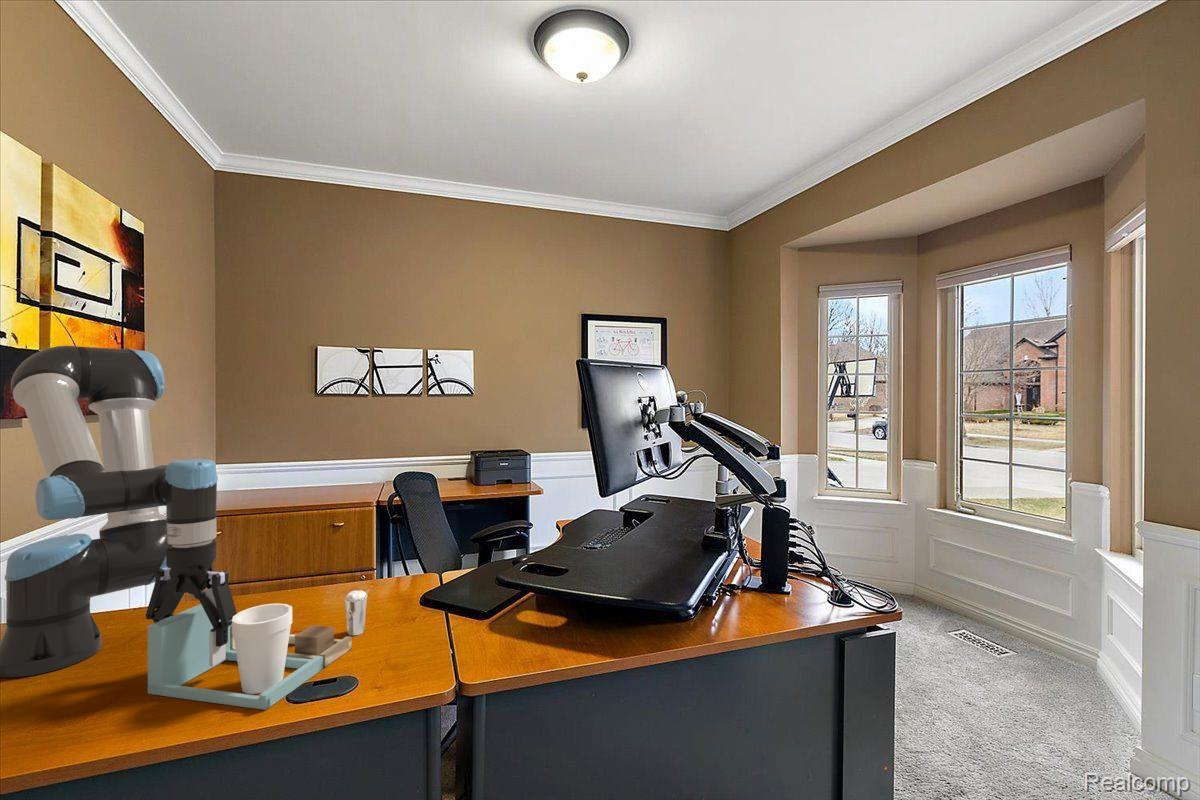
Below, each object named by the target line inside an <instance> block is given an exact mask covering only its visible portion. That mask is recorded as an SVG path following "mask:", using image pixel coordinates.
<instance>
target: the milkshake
mask: <svg viewBox="0 0 1200 800" xmlns="http://www.w3.org/2000/svg"><path fill="white" fill-rule="evenodd" d="M369 590H370V588H368V589H367V590H366V592H365V591H363V590H351V591H350V592H348V593H347V594H346V595H345V597H344V602H345V603H344V604H345V614H346V627H347V634H348V635H349V636H351V637H352V636H359V635H362V634H363V633H364V632H365V626H366V611H367V602H368V593H369Z"/></svg>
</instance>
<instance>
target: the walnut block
mask: <svg viewBox="0 0 1200 800" xmlns="http://www.w3.org/2000/svg"><path fill="white" fill-rule="evenodd" d="M294 635H295V644H294V653H298V654H307V655H316V656H320V654H321V653H323V652H324V651H326V650H327V649H328V648H330V647H331V646H333V645H334V639H335V627H334V626H326V625H325V626H323V625H317V624H316V625H315V624H312V625H310V626H308V627H307V628H305V629H304V630H302V631H301V632H299V633H297V634H294Z"/></svg>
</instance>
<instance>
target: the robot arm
mask: <svg viewBox="0 0 1200 800" xmlns="http://www.w3.org/2000/svg"><path fill="white" fill-rule="evenodd" d="M165 381H166V380H165V373H164V370H163V368H162V364H161V362H160V360H159V359H158V358H157V356H155V354H153V353H151V352H149V351H146V350H140V349H139V350H138V349H132V348H128V347H127V348H114V347H113V348H110V347H95V346H78V345H77V346H76V345H59V346H52V347H48V348H45V349H42V350H40V351H37V352H36V353H33V354H32V355H30V356H28V357H27V358H26V359H24V360H23V361H22V362H21V364H19V366H17V368H16V370H15V371H14V373H13V375H12V377H11V380H10V391H11V394H12V398H13V400H14V401H15V403H16V404H17V405H18V406H19V407H21V408H23V409H24V410H25V411H24V412H25V415H26V416H27V420H28V423H29V427H30V428H31V432H32V435H33V437H34V440H35V444H36V447H37V449H38V453H39V455H40V457H41V458H40V459H41V461H42V464H43V468H44V470H45V474H46V476H47V477H43V478H41V479H40V480H38V482H37V484H36V488H35V503H36V511H37V515H38V516H39V517H40V518H41V519H43V520H46V521H53V520H54V521H56V520H68V519H71V520H73V519H78V518H83V517H84V518H85V517H91V516H98V515H103V514H107V521H106V522H105V524H104V525H103V526H102V527H101V528H100V529H99V531H98V533H99V538H96V539H95V538H94V539H92V537H91V536H90V535H89V534H88V533H74V534H69V535H67V534H66V535H65V534H64V535H59V536H54V537H51V538H46V539H43V540H39V541H35V542H32V543H29V544H26V545H23V546H22V547H20V548H18V549H16V550H15V551H13V552H12V553H11V554H10V555H9V556H8V557H7V560H6V570H5V575H4V580H5V582H6V583H5V586H6V588H5V591H6V592H5V593H6V594H5V595H6V597H5V598H6V600H5V601H6V603H5V604H6V606H5V607H6V609H5V611H6V612H5V614H6V616H5V618H6V619H5V622H6V623H5V630H4V633H3V635H2V638H1V640H0V678H4V679H5V678H6V679H7V678H9V679H10V678H23V677H29V676H36V675H41V674H45V673H49V672H54V671H57V670H61V669H63V668H66V667H70V666H73V665H75V664H78V663H80V662H82V661H85V660H87V659H89V658H90V657H93V655H95V654H97V653H98V652H99V651H100V650H101V648H102V634H101V631H100V630H99V627H98V625H97V623H96V622H95V619H94V617H93V614H92V613H91V598H93V597H98V596H101V595H102V596H103V595H106V594H111V593H115V592H120V591H123V590H130V589H134V588H137V587H142V586H148V585H151V584H153V583H154V585H153V588H152V592H151V595H150V600H149V603H148V605H147V609H146V613H145V619H146V620H153V621H152V622H153V623H156V622H158V621H161V620H163V619H165V618H168V617H170V616H173V615H174V613H175V611H176V609H177V607H178V606H179V603H180V602H181V600H182V599H183V596H184V595H185V594H186V593H187V594H189V595H193V597H194V598H195V599H197V600H199V602H200V604H201V605H202V607H203V609H204V611H205V612H206V614H207V616H208V618H209V620H210V622H211V624H212V626H213V629H211V630H209V666H214V665H216V664H218V663H219V662H221V661H223V660H225V659H226V644H227V642H228V626H230V625H232V618H233V616H234V615H236V614H237V613H238V612H237V608H236V605H235V601H234V598H233V595H232V591H231V587H230V584H229V572H228V570H223V571H220V572H219V571H215V569H214V566H213V564H214V562H215V561H216V559H217V541H216V540H215V539H216V538H217V536H218V533H217V532H218V531H217V530H218V529H217V498H218V497H217V494H218V493H217V489H218V488H217V485H218V484H217V483H218V478H219V477H218V475H217V474H218V473H217V464H216V462H215V461H214V460H212V459H208V458H205V459H204V458H192V459H191V458H190V459H177V460H172V461H171V462H169V463H168V464H167V465H166V464H162V465H156V466H155V463H154V453H153V443H152V433H151V425H150V416H149V415H150V414H149V412H150V410H152V409H153V408H154V407H155V406H156V405H157V402H156V400H158V399H161V398H162V397H163V395H164V392H165ZM78 400H87V404H88V409H89V410H90V411H92V412H94V413H95V414H97V416H98V423H99V434H100V445H101V456H100V454H99V451H98V449H97V447H96V445H95V441H94V439H93V437H92V434H91V432H90V428H89V426H88V424H87V421H86V419H85V416H84V415H83V410H82V409H81V406H80V404H79V402H78ZM101 457H102V459H101ZM159 507H166V508H165V509H166V511H165V512H166V516H165V515H163V514H161V513H160V511H159ZM219 620H221V621H220V622H219ZM225 661H226V660H225ZM218 665H219V664H218ZM216 666H217V665H216ZM214 667H215V666H214Z"/></svg>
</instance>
